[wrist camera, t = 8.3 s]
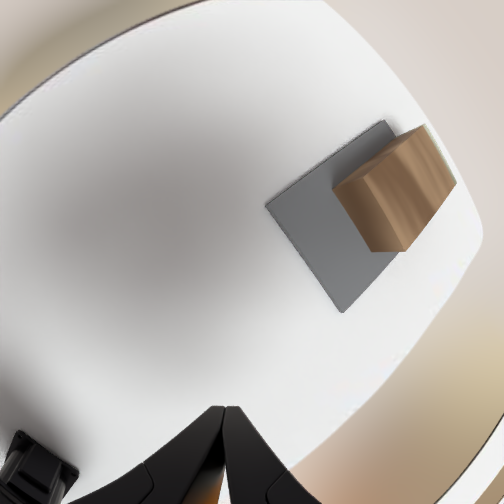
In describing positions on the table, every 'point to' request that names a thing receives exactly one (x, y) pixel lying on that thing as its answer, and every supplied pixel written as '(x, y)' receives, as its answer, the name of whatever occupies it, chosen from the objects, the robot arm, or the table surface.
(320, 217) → the felt mat
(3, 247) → the table surface
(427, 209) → the walnut block
